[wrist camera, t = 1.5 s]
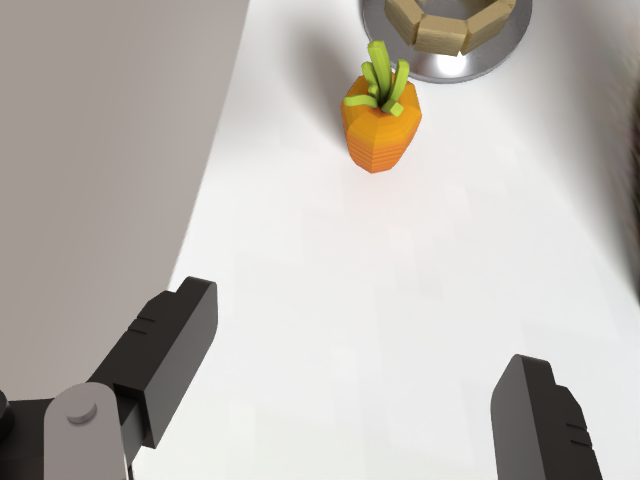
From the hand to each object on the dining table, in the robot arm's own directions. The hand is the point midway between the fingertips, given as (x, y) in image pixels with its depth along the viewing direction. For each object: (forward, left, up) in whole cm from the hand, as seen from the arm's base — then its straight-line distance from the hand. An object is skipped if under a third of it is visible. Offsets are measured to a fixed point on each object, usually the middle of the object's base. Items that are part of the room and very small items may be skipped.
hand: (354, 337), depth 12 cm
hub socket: (-2, -28, -23) cm, 36 cm away
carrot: (+1, -13, -24) cm, 27 cm away
